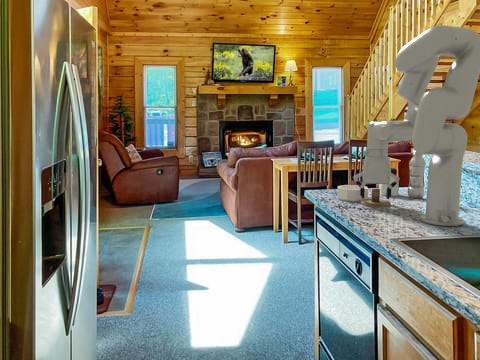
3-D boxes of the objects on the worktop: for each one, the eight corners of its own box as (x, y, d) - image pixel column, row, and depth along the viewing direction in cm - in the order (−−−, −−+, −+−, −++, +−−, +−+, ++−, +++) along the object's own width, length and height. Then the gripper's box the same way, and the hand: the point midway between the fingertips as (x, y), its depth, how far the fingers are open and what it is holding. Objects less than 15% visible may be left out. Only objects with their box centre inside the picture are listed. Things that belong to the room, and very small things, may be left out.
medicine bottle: (398, 196, 173) (399, 169, 171) (380, 196, 174) (382, 168, 172) (395, 193, 180) (396, 167, 178) (378, 193, 181) (379, 166, 179)
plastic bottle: (420, 196, 172) (423, 150, 169) (426, 199, 165) (429, 151, 162) (405, 196, 173) (407, 150, 170) (410, 199, 166) (412, 151, 163)
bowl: (368, 202, 162) (369, 190, 161) (337, 201, 164) (338, 189, 163) (365, 196, 173) (366, 185, 172) (337, 196, 176) (337, 184, 175)
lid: (392, 207, 150) (393, 191, 149) (361, 206, 152) (362, 191, 151) (388, 201, 160) (388, 187, 160) (359, 200, 163) (359, 186, 162)
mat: (390, 208, 150) (390, 207, 150) (362, 207, 153) (362, 206, 152) (386, 202, 160) (387, 202, 160) (360, 202, 162) (360, 201, 162)
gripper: (354, 154, 152) (352, 199, 154) (403, 155, 148) (400, 201, 151) (352, 152, 159) (351, 195, 161) (399, 153, 155) (397, 197, 158)
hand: (375, 198), depth 156 cm, fingers open, 8 cm apart
